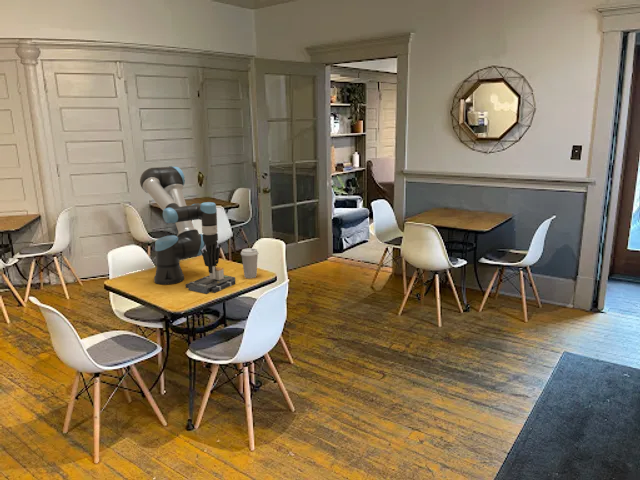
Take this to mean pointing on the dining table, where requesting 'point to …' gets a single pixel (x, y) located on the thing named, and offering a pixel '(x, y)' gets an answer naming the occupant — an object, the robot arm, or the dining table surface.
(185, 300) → the dining table surface
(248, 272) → the coffee cup
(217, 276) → the lever
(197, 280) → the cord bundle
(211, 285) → the panel
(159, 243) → the robot arm
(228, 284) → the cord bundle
